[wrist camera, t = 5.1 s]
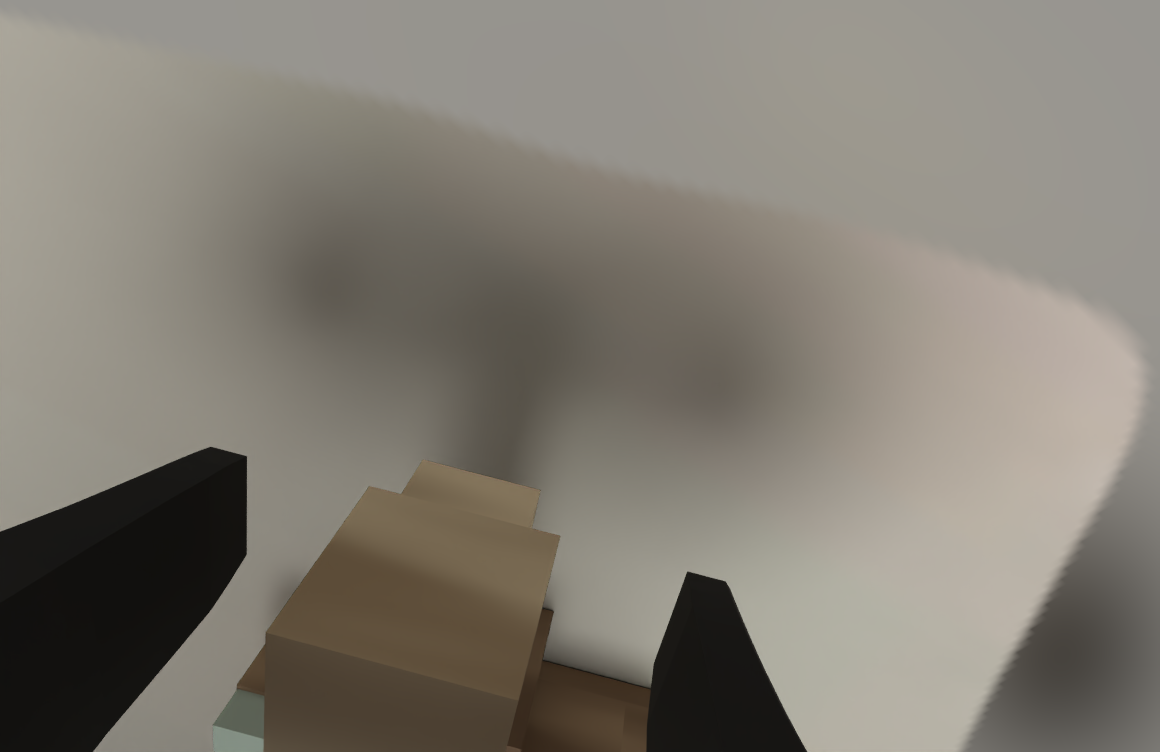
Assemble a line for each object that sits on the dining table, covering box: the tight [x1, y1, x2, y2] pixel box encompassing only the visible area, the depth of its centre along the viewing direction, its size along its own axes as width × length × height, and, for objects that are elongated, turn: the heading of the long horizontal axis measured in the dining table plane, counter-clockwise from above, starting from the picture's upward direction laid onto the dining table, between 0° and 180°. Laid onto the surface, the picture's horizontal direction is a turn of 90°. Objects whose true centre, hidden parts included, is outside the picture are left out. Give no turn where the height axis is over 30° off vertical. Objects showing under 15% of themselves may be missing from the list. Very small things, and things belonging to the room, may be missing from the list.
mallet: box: [263, 460, 560, 752], centre depth 11 cm, size 6×3×4 cm, turn 168°
